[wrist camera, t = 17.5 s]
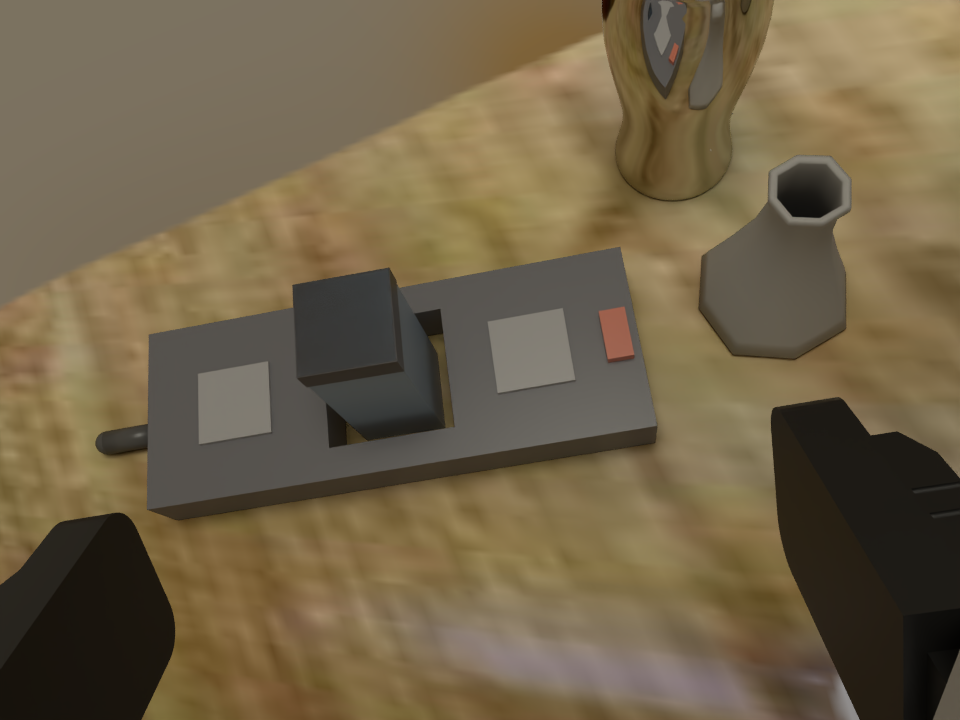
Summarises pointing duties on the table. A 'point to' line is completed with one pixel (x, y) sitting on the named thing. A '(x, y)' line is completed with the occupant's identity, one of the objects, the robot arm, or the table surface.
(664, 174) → the beer glass
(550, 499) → the table surface
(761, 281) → the flask
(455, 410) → the power strip
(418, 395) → the plug
